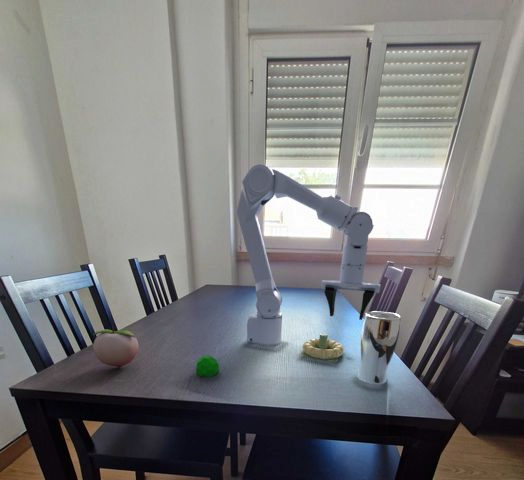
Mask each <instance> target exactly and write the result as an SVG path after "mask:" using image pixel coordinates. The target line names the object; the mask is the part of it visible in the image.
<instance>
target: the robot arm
mask: <svg viewBox="0 0 524 480" xmlns="http://www.w3.org/2000/svg"><path fill="white" fill-rule="evenodd" d="M274 197H275V198H276V199H280V198H289V199H292V200H293V201H296V202H298V203H300V204H302V205H303V206H305V207H307V208H309V209H312V210H313V211H315V212H316V217H317V219H318V220H320V221H321V222H322V223H324V224H327V225H328V226H330V227H332V228H334V229H335V230H337V231H339V232H342V231H343V234H344V243H343V247H342V254H341V255H342V256H341V263H340V271H339V272H340V273H339V280H325V279H324V280H321V286H320V287H321V289H324V296H325V298H326V301H327V305H328V309H329V316H330V317H333V316H335V304H336V297H337V291H338V290H342V291H355V292H363V293H362V301H361V309H360V312H359V318H358V320H360V321H362V320H363V318H364V316H365V315H364V314H365V313H366V309H367V307H368V305H369V303H370V302H371V300H372V299H373V298H374V295H375V293H376V294H379V293H380V290H381V284H380V283H371V282H363V280H364V273H365V272H364V271H365V265H366V260H367V253H368V241H369V235H370V234H371V233H372V231H373V230H374V226H375V225H374V224H373V219H372V218H371V217H372V216H371V215H370V214H369V213H368V212H366V211H358V210H359V207H358V206H357V205H353V206H352V205H350V204H348V203H346V202H345V201H343V200H341V198H342V197H341V196H340V195H338V194H336V195H332V194H329V195H326V196H321V195H319V194H318V193H316V192H315V191H313V190H312V189H310V188H308V187H306V186H304V184H302V183H300V182H298V181H297V180H295V179H293V178H291V176H288V175H286V174H284V173H282V172H281V171H279V170H276V169H271V168H269V167H268V166H267V165H265V164H261V163H260V164H255V165H253V166H252V167H251V168H250V169H249V170H248V171H247V173H246V175H245V176H244V178H243V179H242V180H241V191H240V195H239V199H238V204H237V208H236V216H237V219H238V223H239V227H240V231H241V234H242V237H243V240H244V245H245V249H246V253H247V256H248V260H249V264H250V267H251V271H252V275H253V279H254V282H255V283H254V284H255V294H256V303H255V306H256V307H255V308H256V311H257V312H256V313H255V312H254V313H250V315H249V316H248V319H247V323H246V342H247V343H252V344H257V345H260V346H266V347H268V346H269V347H271V346H272V347H273V346H277V345H280V344H281V343H282V332H283V331H282V329H283V328H282V327H283V312H282V311H281V305H282V303H283V297H282V294H281V292H280V291H279V290H278V288H277V286H276V283H275V280H274V277H273V273H272V270H271V265H270V262H269V258H268V254H267V250H266V249H267V248H266V246H265V242H264V237H263V234H262V230H261V225H260V221H259V215H260V213H261V212H262V210H263V208H264V207H265V205H266V204H268V202H270V201H271V200H272V199H273V198H274Z"/></svg>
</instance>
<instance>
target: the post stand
mask: <svg viewBox="0 0 524 480" xmlns="http://www.w3.org/2000/svg"><path fill="white" fill-rule="evenodd" d="M328 337H329V334H327V333H319V338H318V339H319V349H328V348H326V347H327V340H328ZM300 357H307V358H312V359H315V358H314V357H312V356H309V355H307V354H306V353H305V352H304V351H303V352H302V353H301V355H300ZM316 359H317V360H323V361H329V362H333V363H336V362H337V361H338V359H339V357H337V358H334V359H320V358H316Z"/></svg>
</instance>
